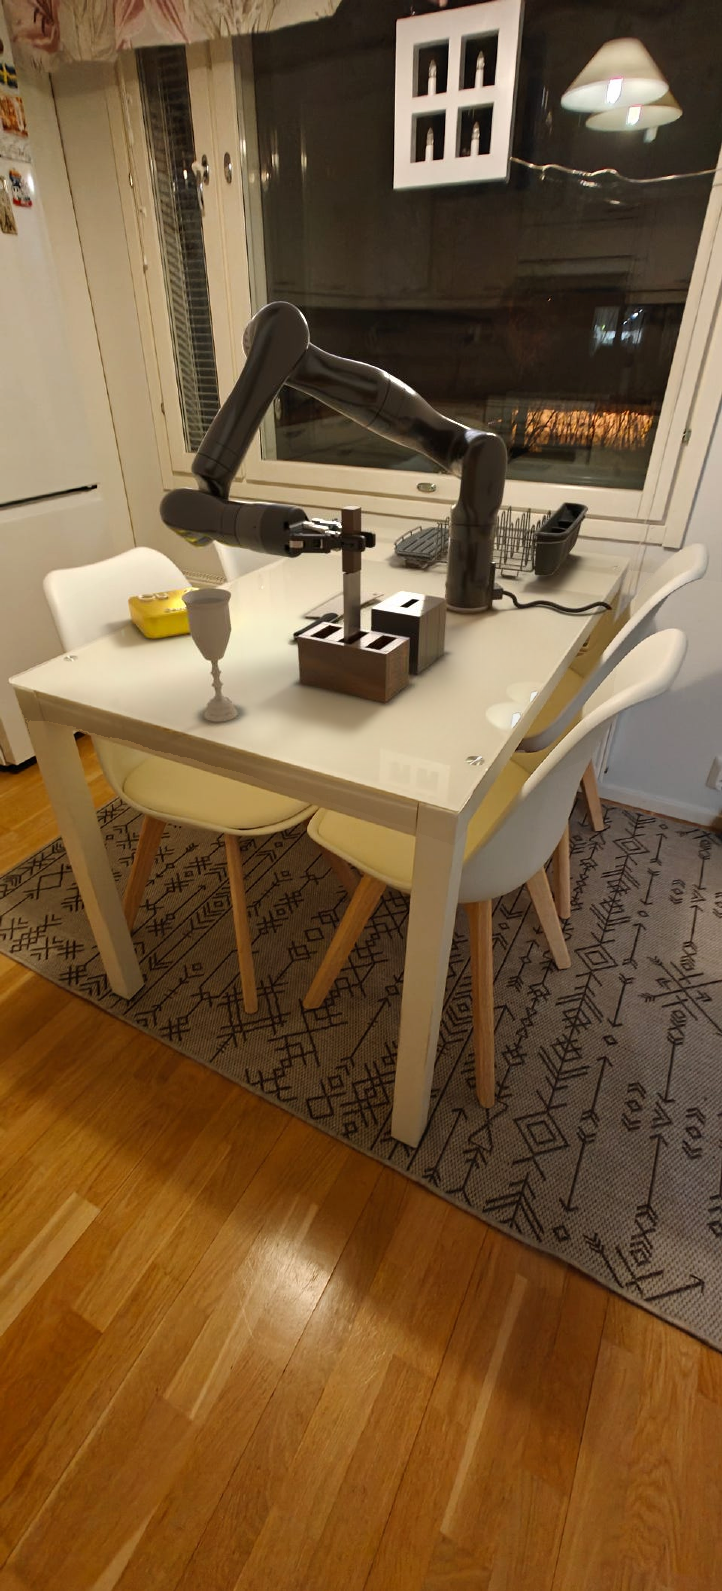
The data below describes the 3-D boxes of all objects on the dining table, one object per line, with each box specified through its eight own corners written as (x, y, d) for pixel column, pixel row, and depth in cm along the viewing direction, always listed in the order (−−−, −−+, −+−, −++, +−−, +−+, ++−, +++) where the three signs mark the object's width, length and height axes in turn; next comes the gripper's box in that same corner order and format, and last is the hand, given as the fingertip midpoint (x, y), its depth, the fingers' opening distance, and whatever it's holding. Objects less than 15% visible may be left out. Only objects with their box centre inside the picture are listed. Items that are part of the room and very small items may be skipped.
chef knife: (353, 642, 116) (352, 504, 105) (364, 644, 116) (364, 505, 104) (340, 649, 113) (338, 509, 102) (351, 652, 113) (350, 510, 101)
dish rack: (558, 586, 163) (566, 531, 157) (379, 566, 179) (379, 515, 172) (583, 552, 189) (591, 503, 183) (425, 536, 205) (427, 491, 198)
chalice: (200, 704, 111) (184, 589, 102) (244, 702, 112) (232, 587, 102) (195, 726, 105) (178, 605, 96) (242, 723, 106) (229, 603, 96)
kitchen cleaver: (346, 587, 160) (386, 588, 155) (347, 595, 161) (387, 596, 156) (266, 630, 137) (310, 633, 132) (268, 639, 138) (312, 642, 133)
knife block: (399, 644, 133) (400, 590, 127) (444, 653, 129) (447, 598, 124) (370, 664, 125) (370, 608, 119) (417, 674, 121) (419, 616, 116)
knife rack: (325, 666, 124) (323, 621, 120) (408, 684, 117) (409, 637, 113) (299, 683, 118) (297, 636, 114) (385, 703, 112) (386, 654, 107)
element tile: (148, 640, 135) (144, 616, 133) (129, 618, 146) (125, 594, 144) (224, 627, 141) (221, 603, 139) (200, 606, 152) (197, 583, 150)
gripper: (242, 511, 104) (345, 524, 97) (296, 496, 115) (392, 506, 107) (247, 564, 108) (345, 580, 101) (298, 544, 119) (391, 557, 112)
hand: (369, 542), depth 104 cm, fingers closed on chef knife, 2 cm apart
